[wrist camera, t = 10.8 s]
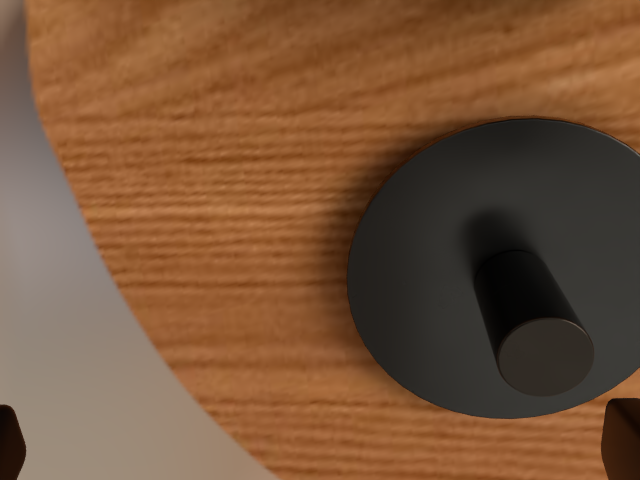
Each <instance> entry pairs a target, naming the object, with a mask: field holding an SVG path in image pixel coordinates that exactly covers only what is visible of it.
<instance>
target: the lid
mask: <svg viewBox="0 0 640 480" xmlns="http://www.w3.org/2000/svg"><path fill="white" fill-rule="evenodd" d="M347 292H348V299H349V304H350V309H351V314H352V316H353V319H354V322H355V325H356V328H357V331H358V332H359V334H360V336H361V338H362V340H363V342H364V344H365V346H366V347H367V349H368V350H369V352H370V353H371V355H372V356H373V357H374V359H375V360H376V361H377V363H378V364H379V365H380V366H381V367H382V368H383V369H384V370H385V371H386V372H387V373H388V374H389V375H390V376H391V377H392V378H393V379H394V380H396V381H397V382H398V383H399V384H400V385H402V386H403V387H404V388H406V389H407V390H409V391H411V392H412V393H414V394H415V395H417V396H418V397H420V398H422V399H424V400H426V401H428V402H430V403H433V404H435V405H437V406H440V407H443V408H445V409H448V410H451V411H454V412H458V413H462V414H467V415H471V416H477V417H485V418H497V419H517V418H529V417H536V416H542V415H547V414H552V413H556V412H559V411H563V410H566V409H570V408H573V407H575V406H578V405H580V404H583V403H585V402H588V401H590V400H592V399H594V398H596V397H598V396H600V395H602V394H603V393H605V392H607V391H609V390H611V389H612V388H614V387H615V386H617V385H618V384H620V383H621V382H622V381H624V380H625V379H627V378H628V377H629V376H630V375H632V374H633V373H634V372H635V371H636V370H637V369H638V368H640V154H639V153H637V152H636V151H635V150H634V149H632V148H631V147H630V146H628V145H627V144H625V143H623V142H622V141H620V140H618V139H616V138H614V137H613V136H611V135H609V134H607V133H605V132H604V131H601V130H598V129H596V128H593V127H591V126H588V125H585V124H583V123H579V122H575V121H570V120H566V119H562V118H556V117H545V116H535V115H532V116H508V117H502V118H496V119H490V120H484V121H481V122H478V123H474V124H471V125H467V126H464V127H461V128H459V129H456V130H454V131H452V132H449V133H447V134H445V135H442V136H440V137H438V138H437V139H435V140H433V141H432V142H430V143H428V144H426V145H425V146H423V147H421V148H420V149H418V150H417V151H416V152H414V153H413V154H412V155H411V156H409V157H408V158H407V159H405V160H404V161H403V162H401V163H400V164H399V165H398V166H397V167H396V168H395V169H394V170H393V171H392V172H391V173H390V174H389V175H388V176H387V177H386V178H385V180H384V181H383V182H382V184H381V185H380V186H379V187H378V189H377V190H376V191H375V193H374V194H373V195H372V197H371V199H370V200H369V202H368V204H367V206H366V207H365V209H364V211H363V212H362V214H361V217H360V219H359V222H358V224H357V227H356V229H355V232H354V235H353V239H352V243H351V247H350V251H349V259H348V268H347Z"/></svg>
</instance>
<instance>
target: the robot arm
mask: <svg viewBox="0 0 640 480" xmlns="http://www.w3.org/2000/svg"><path fill="white" fill-rule="evenodd" d="M601 454H602V459H603V463H604V466H605V470H606V473H607V476H608V479H609V480H640V399H638V398H614V399H611V400H610V401H608V403H607V406H606V411H605V418H604V426H603V433H602V441H601ZM25 457H26V445H25V441H24V438H23V435H22V433H21V429H20V427H19V423H18V420H17V417H16V414H15V412H14V410H13V409H12V407H10V406H8V405H0V480H17V477H18V475H19V473H20V471H21V468H22V466H23V464H24V461H25Z"/></svg>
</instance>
